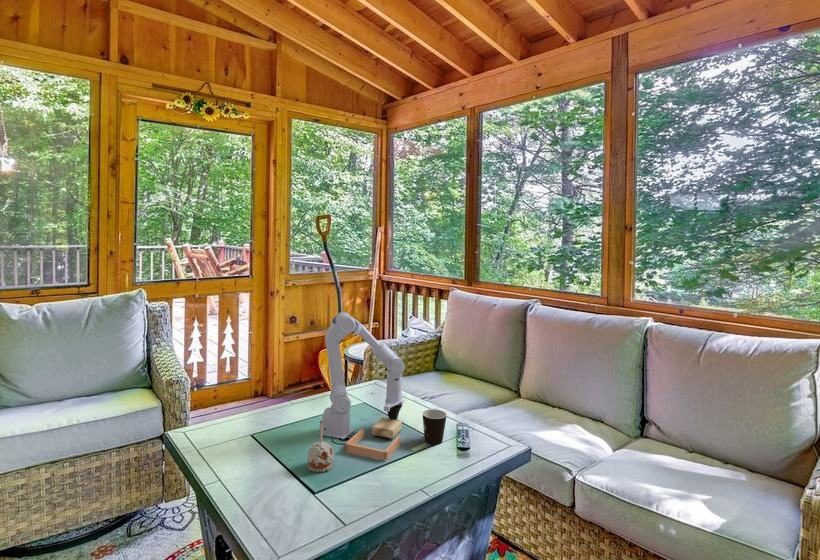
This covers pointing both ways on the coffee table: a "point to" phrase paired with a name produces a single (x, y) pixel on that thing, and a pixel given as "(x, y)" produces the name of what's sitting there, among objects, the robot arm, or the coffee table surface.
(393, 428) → the tan wooden block
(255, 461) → the coffee table surface
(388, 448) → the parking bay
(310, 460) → the decorative ornament
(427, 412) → the coffee mug
